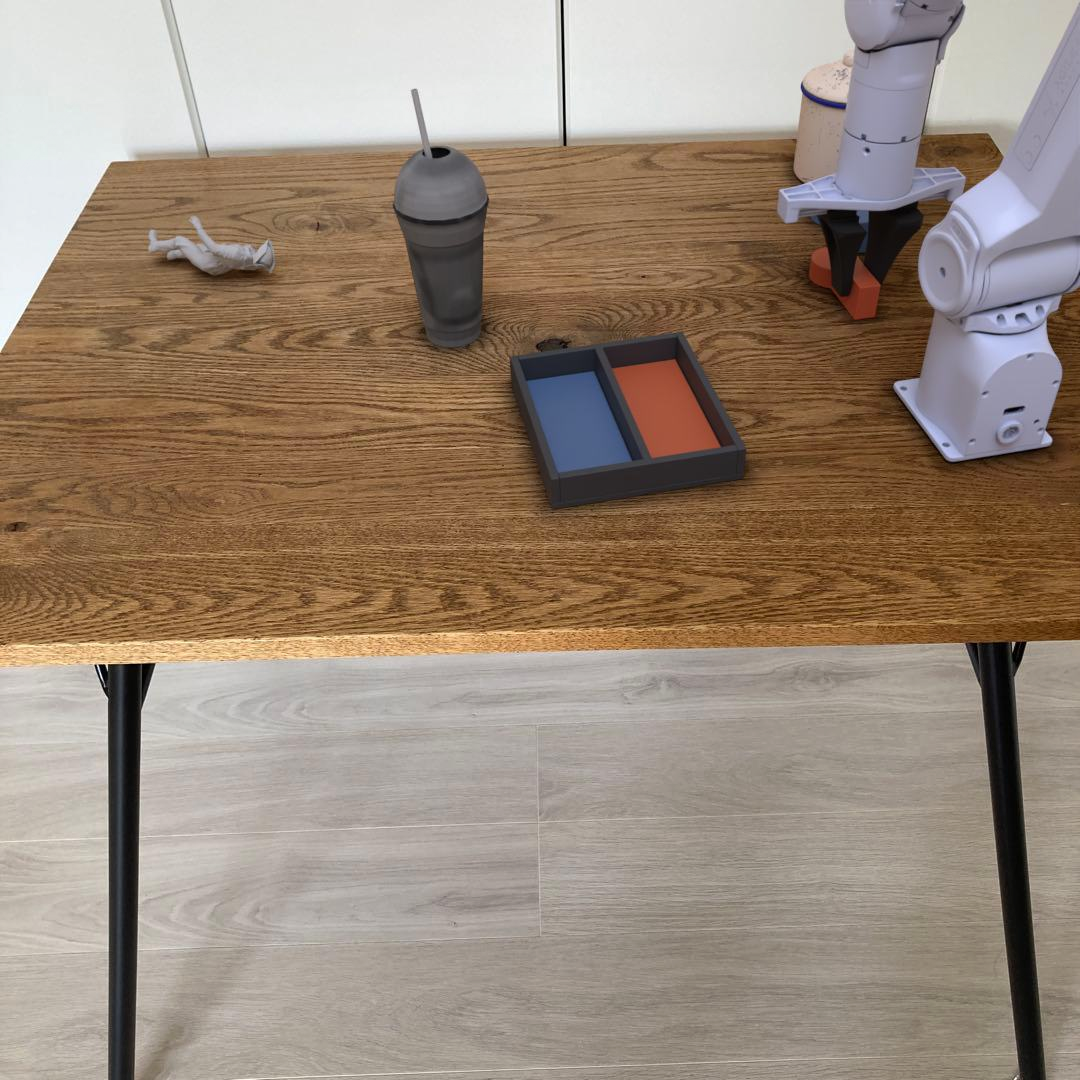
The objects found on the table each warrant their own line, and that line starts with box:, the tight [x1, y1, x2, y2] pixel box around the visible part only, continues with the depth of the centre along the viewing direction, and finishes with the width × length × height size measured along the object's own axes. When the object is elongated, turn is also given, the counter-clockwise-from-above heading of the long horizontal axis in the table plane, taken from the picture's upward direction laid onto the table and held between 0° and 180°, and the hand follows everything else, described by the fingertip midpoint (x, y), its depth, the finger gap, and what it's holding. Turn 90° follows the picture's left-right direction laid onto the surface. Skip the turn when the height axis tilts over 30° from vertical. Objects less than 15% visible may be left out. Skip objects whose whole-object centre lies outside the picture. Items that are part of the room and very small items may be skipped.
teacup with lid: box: [793, 49, 855, 184], centre depth 113 cm, size 12×9×12 cm
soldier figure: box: [148, 215, 276, 276], centre depth 104 cm, size 8×5×12 cm
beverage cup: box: [392, 88, 490, 348], centre depth 90 cm, size 7×7×20 cm
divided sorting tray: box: [509, 331, 747, 510], centre depth 86 cm, size 15×14×3 cm
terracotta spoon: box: [808, 246, 882, 321], centre depth 99 cm, size 9×4×3 cm, turn 12°
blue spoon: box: [809, 210, 869, 254], centre depth 106 cm, size 9×4×3 cm, turn 12°
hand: (855, 288), depth 97 cm, fingers closed
